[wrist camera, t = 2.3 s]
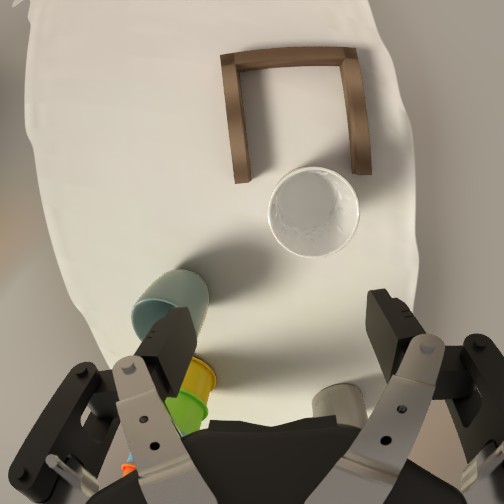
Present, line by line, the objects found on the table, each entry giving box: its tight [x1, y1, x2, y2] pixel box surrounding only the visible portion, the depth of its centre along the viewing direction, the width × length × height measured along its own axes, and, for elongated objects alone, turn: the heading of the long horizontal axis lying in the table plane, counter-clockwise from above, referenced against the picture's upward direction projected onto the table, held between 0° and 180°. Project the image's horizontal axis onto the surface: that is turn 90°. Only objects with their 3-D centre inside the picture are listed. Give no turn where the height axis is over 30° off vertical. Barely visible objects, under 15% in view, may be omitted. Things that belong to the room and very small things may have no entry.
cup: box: [131, 269, 209, 341], centre depth 33 cm, size 8×8×10 cm
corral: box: [220, 47, 372, 184], centre depth 27 cm, size 15×15×3 cm
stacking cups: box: [122, 357, 216, 477], centre depth 27 cm, size 10×10×35 cm
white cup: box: [268, 167, 360, 258], centre depth 27 cm, size 8×8×10 cm
